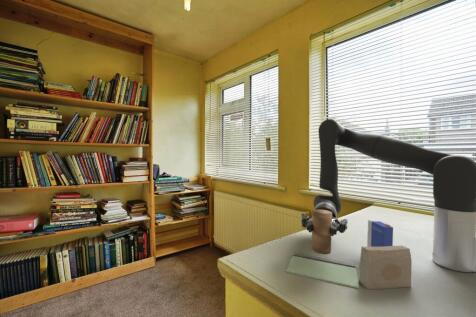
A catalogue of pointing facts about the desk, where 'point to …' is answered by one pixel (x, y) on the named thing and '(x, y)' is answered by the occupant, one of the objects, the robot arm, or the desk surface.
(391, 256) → the fossil
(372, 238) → the walkman
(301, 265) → the mat
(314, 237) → the spiral cardboard tube
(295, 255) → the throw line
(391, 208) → the desk surface
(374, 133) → the robot arm
